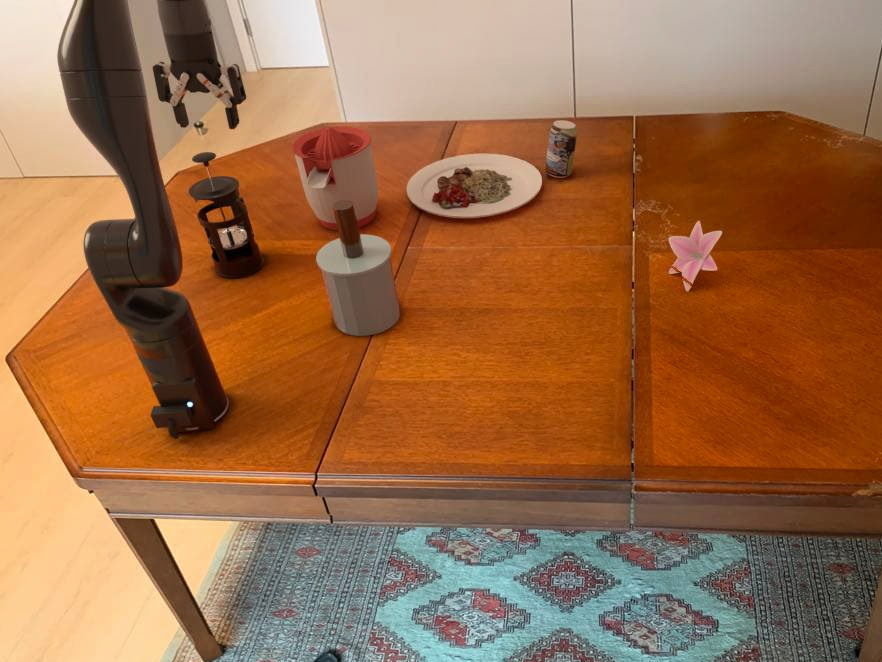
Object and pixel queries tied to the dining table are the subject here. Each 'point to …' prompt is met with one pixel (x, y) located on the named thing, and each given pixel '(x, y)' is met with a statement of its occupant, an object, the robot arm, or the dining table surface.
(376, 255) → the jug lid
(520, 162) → the plated food
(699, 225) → the lily
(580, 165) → the dining table surface
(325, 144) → the citrus juicer
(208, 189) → the french press
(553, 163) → the beverage can
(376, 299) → the grey cup
